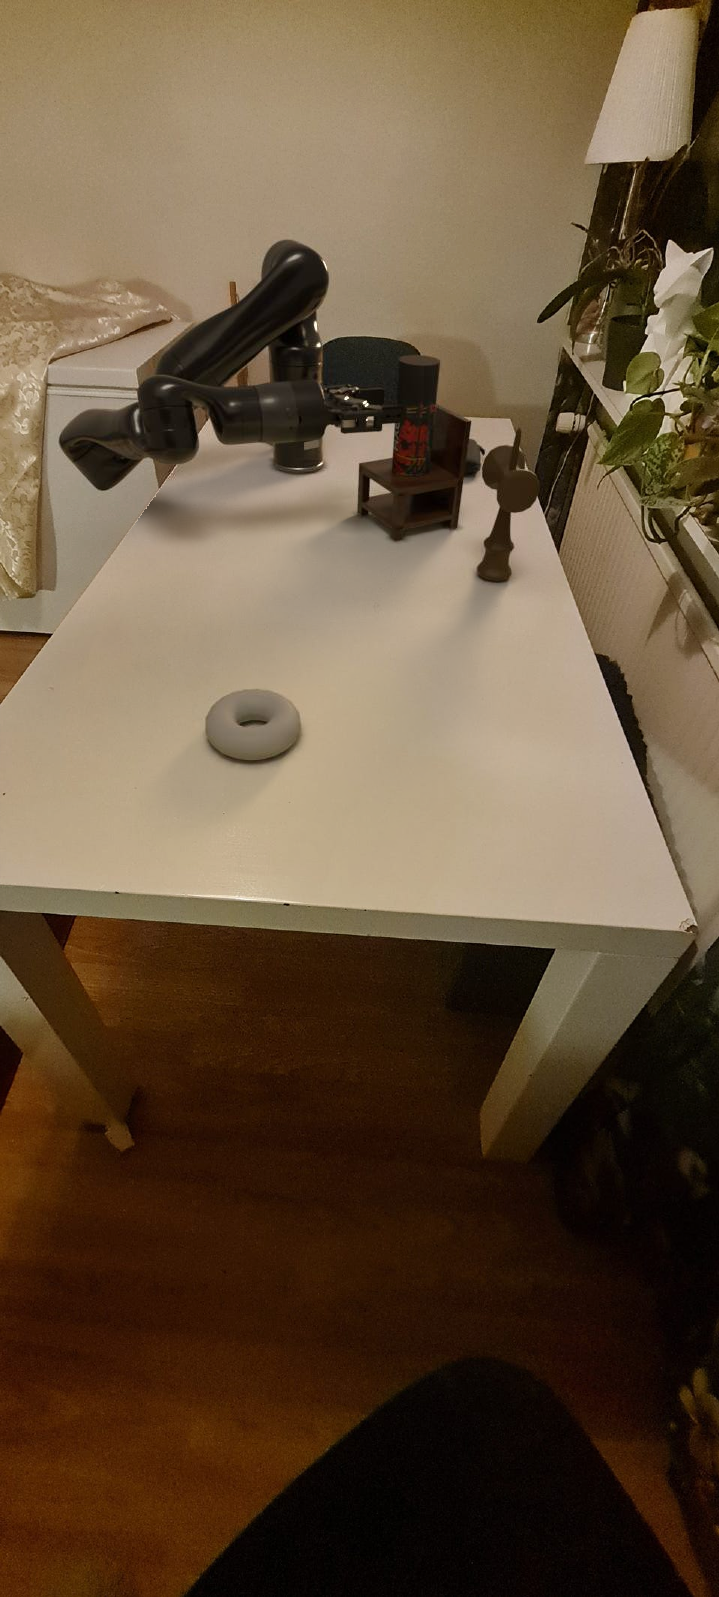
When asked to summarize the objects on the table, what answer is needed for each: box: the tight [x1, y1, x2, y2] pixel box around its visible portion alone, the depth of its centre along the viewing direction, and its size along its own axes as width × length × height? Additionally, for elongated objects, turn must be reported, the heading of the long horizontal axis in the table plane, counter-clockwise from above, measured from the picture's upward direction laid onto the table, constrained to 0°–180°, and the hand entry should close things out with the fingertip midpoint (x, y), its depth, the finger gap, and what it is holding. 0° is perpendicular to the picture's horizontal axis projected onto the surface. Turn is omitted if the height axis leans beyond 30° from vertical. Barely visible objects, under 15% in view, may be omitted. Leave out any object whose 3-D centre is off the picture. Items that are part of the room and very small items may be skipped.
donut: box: [204, 688, 302, 761], centre depth 74 cm, size 10×4×10 cm
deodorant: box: [392, 354, 441, 477], centre depth 106 cm, size 6×6×15 cm
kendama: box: [476, 427, 540, 582], centre depth 97 cm, size 6×10×20 cm, turn 4°
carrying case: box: [464, 438, 486, 477], centre depth 135 cm, size 11×3×15 cm
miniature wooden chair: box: [357, 403, 472, 542], centre depth 111 cm, size 12×12×16 cm
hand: (394, 404), depth 103 cm, fingers open, 8 cm apart
